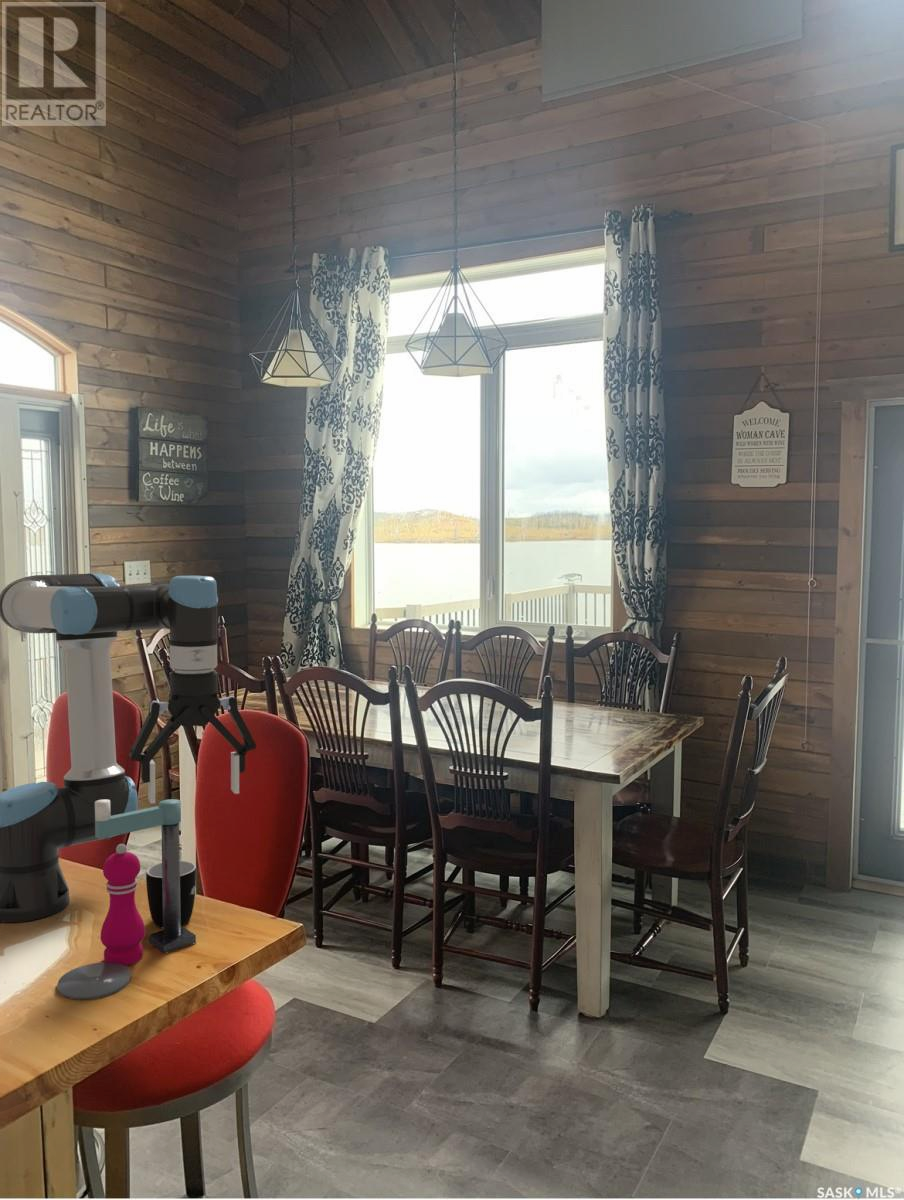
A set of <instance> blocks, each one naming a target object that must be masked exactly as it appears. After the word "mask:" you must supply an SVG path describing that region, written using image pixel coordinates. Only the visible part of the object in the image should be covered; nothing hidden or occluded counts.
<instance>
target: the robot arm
mask: <svg viewBox="0 0 904 1200" xmlns="http://www.w3.org/2000/svg"><path fill="white" fill-rule="evenodd" d="M217 587H218V585H217V581H216V579H215V578H214V577H213V576H208V575H177V576H176V575H175V576H173V577H172V578H171V579H170V581H169V583H168V582H167V583H166V582H161V583H160V582H159V583H158V582H154V583H149V584H140V585H136V584H135V585H120V583H119V582H118V580H117V579H116V578H115V577H113V576H111V575H109V574H105V573H104V574H103V573H90V572H88V573H70V574H69V573H68V574H39V575H38V574H34V575H30V576H29V575H28V576H24V577H22V578H18V579H16V580H14V581H12V582H10V583H9V584H7V585H6V586H5V587H4V588H3V589H2V590H1V592H0V619H1V621H2V622H3V623H4V624H5V625H6V626H8V627H9V628H10V629H13V630H15V631H18V632H23V633H27V634H28V633H29V634H55V642H56V643H57V644H58V645H60V647H61V648H63V650H64V657H65V659H64V660H65V675H66V676H65V677H66V695H67V711H68V713H67V714H68V729H69V730H68V731H69V748H70V764H71V765H70V767H71V768H70V769H69V770H68V771H67V772H66V773H65V775H64V776H63V786H62V787H58V786H57V785H56V783H53V782H50V781H41V782H40V781H39V782H30V783H25V784H21V785H18V786H15V787H12V788H10V789H7V790H5V791H3V792H1V793H0V921H5V922H4V923H21V922H28V921H34V920H39V919H43V918H46V917H48V916H51V915H54V914H57V913H58V912H60V911H62V910H64V909H65V908H66V907H67V906H68V905H69V903H70V889H69V886H68V884H67V881H66V878H65V876H64V873H63V870H62V868H61V865H60V861H59V851H60V849H62V848H67V847H72V846H76V845H80V844H86V843H90V842H94V841H100V840H109V839H110V838H112V837H114V836H111V837H107V838H102V839H98V838H96V837H95V801H97V800H103V799H107V800H110V814H111V816H113V815H118V814H123V813H127V812H132V811H137V810H138V802H139V801H138V792H137V790H136V783H135V782H134V780H133V779H132V778H131V777H130V776H126V773H125V771H126V770H125V768H123V767H122V766H121V765H120V764H118V763H117V750H116V749H117V748H116V730H115V715H114V713H115V712H114V697H113V677H112V676H113V675H112V662H111V661H112V660H111V659H112V658H111V646H112V645H113V643H115V641H116V640H117V639H118V632H126V631H141V630H142V631H146V630H158V629H160V630H161V629H163V630H164V629H165V630H169V668H171V670H172V671H171V672H170V673H169V699H168V701H157V700H156V699H153V700H151V701H150V702H149V708H148V715H147V716H146V719H144V723H143V724H142V726H141V729H140V730H139V732H138V734H137V736H136V739H135V740H134V741H133V742H134V743H132V746H131V748H130V750H129V753H128V756H129V757H130V759H131V761H134V762H139V763H140V778H141V781H142V783H143V784H145V783H146V784H147V799H148V800H147V801H149V804H151V805H152V804H156V763H155V761H154V760H153V759H154V757H155V756H156V755H157V754H158V753H159V752H160V751H161V749H162V748H163V746H164V745H166V743H167V741H168V740H169V739H170V738H171V737H172V735H174V734H175V732H176V731H178V730H179V728H180V727H181V726H182V727H184V728H192V727H194V726H196V727H205V726H206V725H207V724H209V723H210V724H211V725H212V726H213V727H214V728H215V729H216V730H217V731H218V733H219V734H220V735H221V736H222V737H223V739H225V741H227V742H228V743H229V745H231V746H232V747H233V749H234V750H235V751H231V752H230V791H232V792H233V794H235V795H238V794H240V773H245V770H246V755H247V753H248V752H249V751H251V750H253V751H254V750H255V749H256V748H257V744H256V742H255V739H254V738H253V736H252V734H251V732H250V730H249V728H248V727H247V725H246V723H245V721H244V718H243V717H242V714H241V713H240V711H239V707H238V699H237V698H236V697H235V696H234V695H232V694H229V695H227V696H226V697H222V698H221V697H220V698H219V696H218V672H217V671H216V670H215V669H216V668H217V667H218V612H219V611H218V605H219V604H218V603H219V596H218V588H217ZM221 706H222V707H223V709H224V710H226V711H228V712H229V713H228V714H229V715H230V717H231V719H232V720H233V722H234V723H233V724H234V725H235V726H236V728H237V730H238V732H239V734H240V736H241V738H242V740H243V741H244V742H243V743H240V741H239V740H238V739H237V738H236V737H235V736H234V735H233V734H232V733H231V732H230V730H228V729H227V727H225V725H224V724H223V723H222V722H221V721H220V719H218V717H217V716H216V715H215V714H216V713H217V711H218V710H219V708H220V707H221ZM166 710H168V711H169V713H170V714H171V715H172V716H171V717H169V719H168V721H167V722H166V724H165V725H164V726H163V727H162V729H161V730H160V731H159V732H158V734H157V735H156V736H155V737H154V738H153V740H152V741H151V742H150V743H149V745H148V746H147V747H146V748H145V746H146V744H147V742H148V740H149V738H150V736H151V735H152V732H153V730H154V728H155V726H156V724H157V722H158V719H159V716H162V715H164V712H165V711H166ZM144 748H145V750H144ZM121 835H122V834H120V835H119V836H121ZM116 836H118V835H116ZM116 836H115V837H116Z"/></svg>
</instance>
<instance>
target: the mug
mask: <svg viewBox="0 0 904 1200" xmlns="http://www.w3.org/2000/svg"><path fill="white" fill-rule="evenodd" d="M145 884H146V893H147V901H148V908H149V913H150V916H151V920H152V922H153V923H154V925H155V926H156V927H158V928H161V927H163V892H162V862H158V863H155V864H153V865H151V866H149V867H148V868H147V870H146V871H145ZM196 884H197V866H196V864H194V863H193V862H190V861H188V860H180V912H181V925H182V926H185V925H186V924H187V923H189V921H190V920H191V918H192V915H193V911H194V905H195V898H196V897H195V896H196V887H197V885H196Z"/></svg>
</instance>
